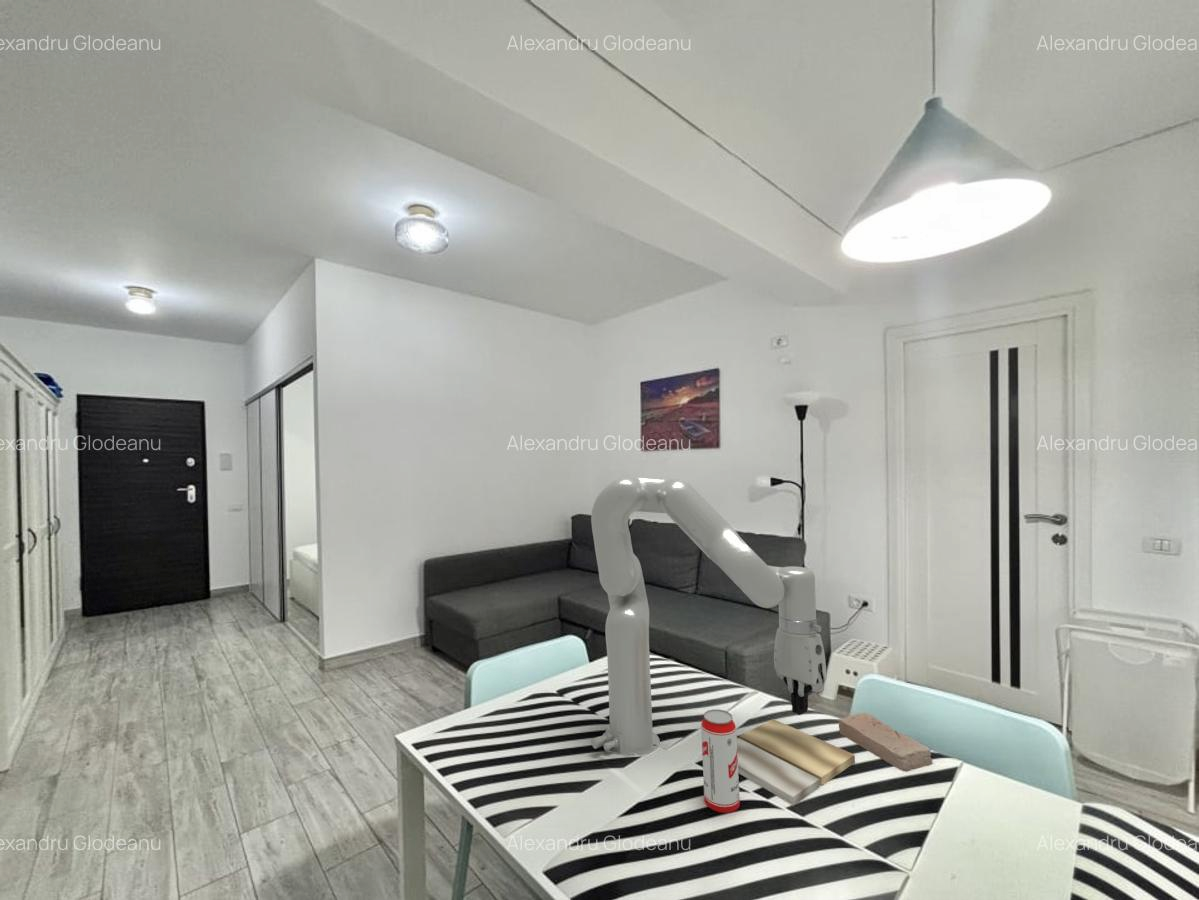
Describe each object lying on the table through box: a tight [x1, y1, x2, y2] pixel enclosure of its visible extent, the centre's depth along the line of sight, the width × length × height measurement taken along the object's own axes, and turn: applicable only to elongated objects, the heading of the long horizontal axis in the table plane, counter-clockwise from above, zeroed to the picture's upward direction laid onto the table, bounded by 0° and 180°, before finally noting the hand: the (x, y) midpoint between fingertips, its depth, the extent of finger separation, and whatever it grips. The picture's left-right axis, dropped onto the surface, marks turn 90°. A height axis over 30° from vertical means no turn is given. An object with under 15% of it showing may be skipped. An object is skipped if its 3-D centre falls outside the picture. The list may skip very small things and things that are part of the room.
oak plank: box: [739, 718, 856, 786], centre depth 103 cm, size 12×19×2 cm, turn 35°
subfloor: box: [737, 737, 820, 806], centre depth 101 cm, size 24×20×2 cm
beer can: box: [700, 708, 741, 814], centre depth 89 cm, size 6×6×16 cm
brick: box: [838, 712, 933, 772], centre depth 104 cm, size 17×8×5 cm, turn 19°
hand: (799, 711), depth 106 cm, fingers closed
